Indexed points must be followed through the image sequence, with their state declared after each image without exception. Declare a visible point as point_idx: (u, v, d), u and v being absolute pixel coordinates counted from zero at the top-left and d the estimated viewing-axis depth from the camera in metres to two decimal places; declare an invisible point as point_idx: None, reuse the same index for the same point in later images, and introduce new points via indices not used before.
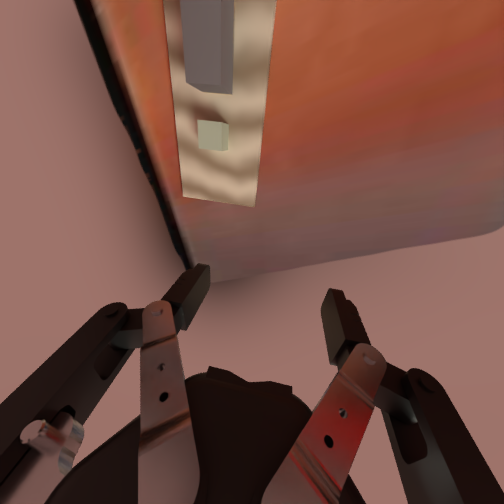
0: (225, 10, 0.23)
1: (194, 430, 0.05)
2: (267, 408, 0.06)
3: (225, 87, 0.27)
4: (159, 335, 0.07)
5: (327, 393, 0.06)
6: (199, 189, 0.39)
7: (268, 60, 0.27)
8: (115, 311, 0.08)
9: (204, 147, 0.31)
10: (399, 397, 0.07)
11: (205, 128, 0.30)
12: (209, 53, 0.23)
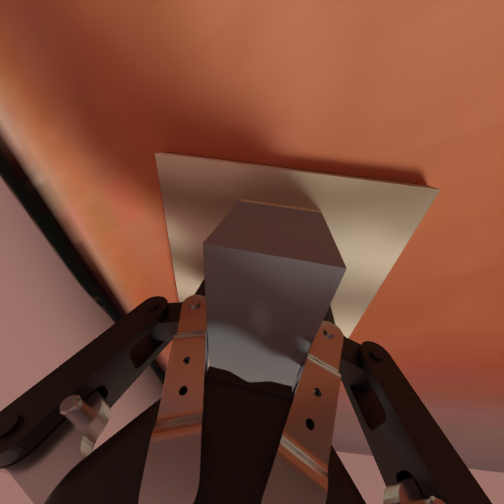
0: None
1: (204, 435, 0.05)
2: (267, 408, 0.06)
3: None
4: (192, 328, 0.08)
5: (301, 378, 0.06)
6: None
7: (372, 295, 0.14)
8: (157, 304, 0.09)
9: None
10: (353, 366, 0.08)
11: None
12: (271, 366, 0.10)
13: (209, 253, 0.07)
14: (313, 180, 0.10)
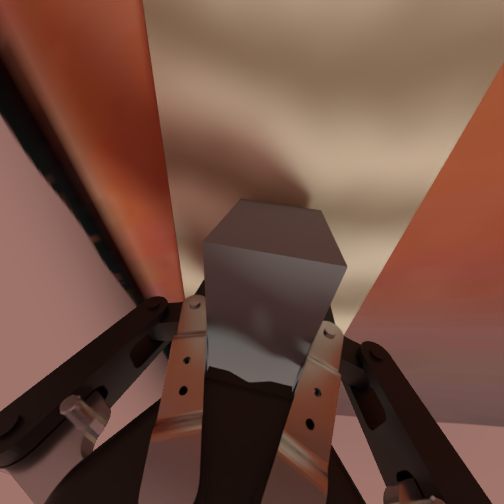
0: None
1: (204, 435, 0.05)
2: (267, 408, 0.06)
3: None
4: (192, 328, 0.08)
5: (301, 378, 0.06)
6: None
7: None
8: (157, 304, 0.09)
9: None
10: (353, 366, 0.08)
11: None
12: (271, 367, 0.10)
13: (209, 252, 0.07)
14: None
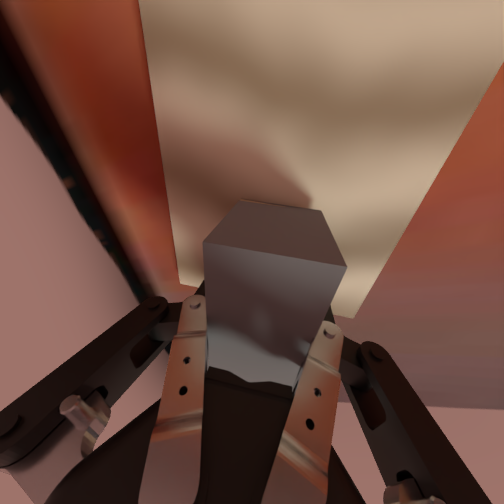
0: None
1: (204, 435, 0.05)
2: (267, 408, 0.06)
3: None
4: (192, 328, 0.08)
5: (301, 378, 0.06)
6: None
7: None
8: (157, 304, 0.09)
9: None
10: (353, 366, 0.08)
11: None
12: (271, 367, 0.10)
13: (209, 252, 0.07)
14: None
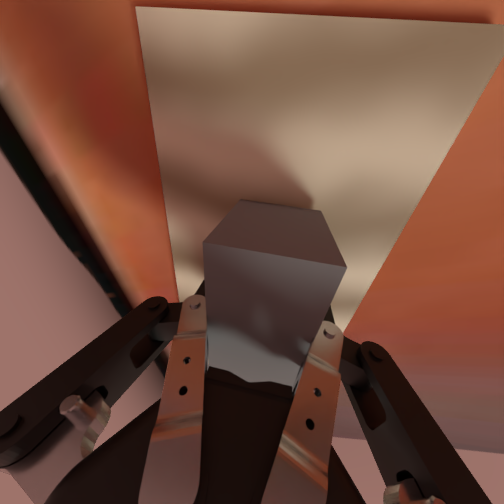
0: None
1: (204, 435, 0.05)
2: (267, 408, 0.06)
3: None
4: (192, 328, 0.08)
5: (301, 378, 0.06)
6: None
7: (407, 216, 0.11)
8: (157, 304, 0.09)
9: None
10: (353, 366, 0.08)
11: None
12: (271, 367, 0.10)
13: (209, 252, 0.07)
14: (345, 29, 0.08)
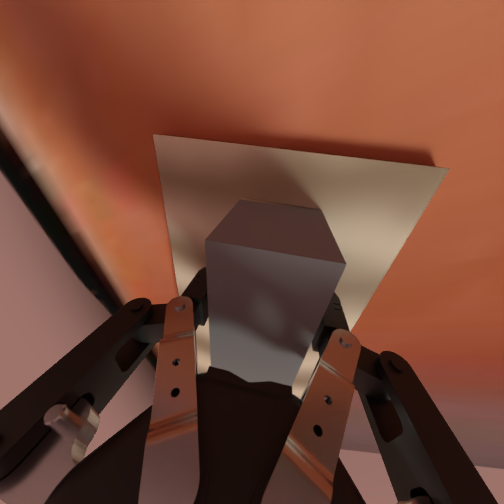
0: None
1: (200, 433, 0.05)
2: (267, 408, 0.06)
3: None
4: (178, 330, 0.08)
5: (312, 383, 0.06)
6: None
7: (376, 284, 0.13)
8: (140, 306, 0.09)
9: None
10: (371, 377, 0.07)
11: None
12: (271, 363, 0.10)
13: (211, 250, 0.07)
14: (317, 161, 0.10)
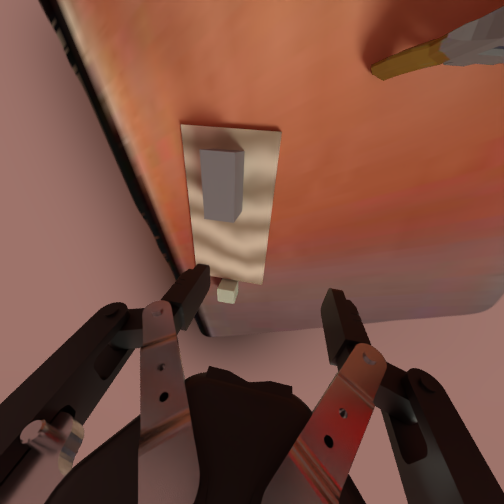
0: (237, 172, 0.27)
1: (194, 430, 0.05)
2: (267, 408, 0.06)
3: (237, 217, 0.31)
4: (159, 335, 0.07)
5: (327, 393, 0.06)
6: (211, 269, 0.43)
7: (273, 185, 0.31)
8: (115, 311, 0.08)
9: (221, 301, 0.44)
10: (399, 397, 0.07)
11: (223, 292, 0.42)
12: (225, 203, 0.28)
13: (201, 152, 0.25)
14: (239, 131, 0.28)
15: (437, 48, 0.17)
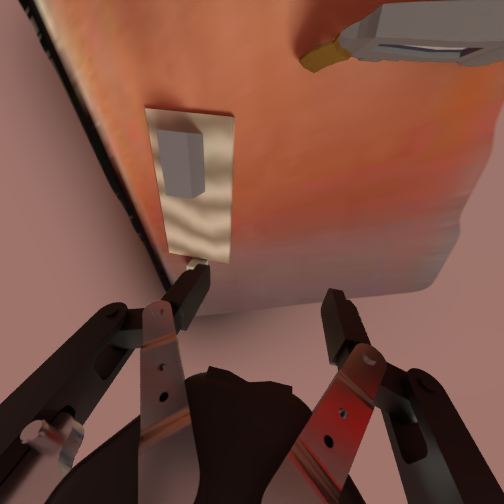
0: (193, 152, 0.30)
1: (194, 430, 0.05)
2: (267, 408, 0.06)
3: (197, 195, 0.35)
4: (159, 335, 0.07)
5: (327, 393, 0.06)
6: (182, 248, 0.46)
7: (231, 167, 0.35)
8: (115, 311, 0.08)
9: None
10: (399, 397, 0.07)
11: None
12: (182, 180, 0.31)
13: (158, 132, 0.28)
14: (197, 115, 0.31)
15: (338, 44, 0.21)
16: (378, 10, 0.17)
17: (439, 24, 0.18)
